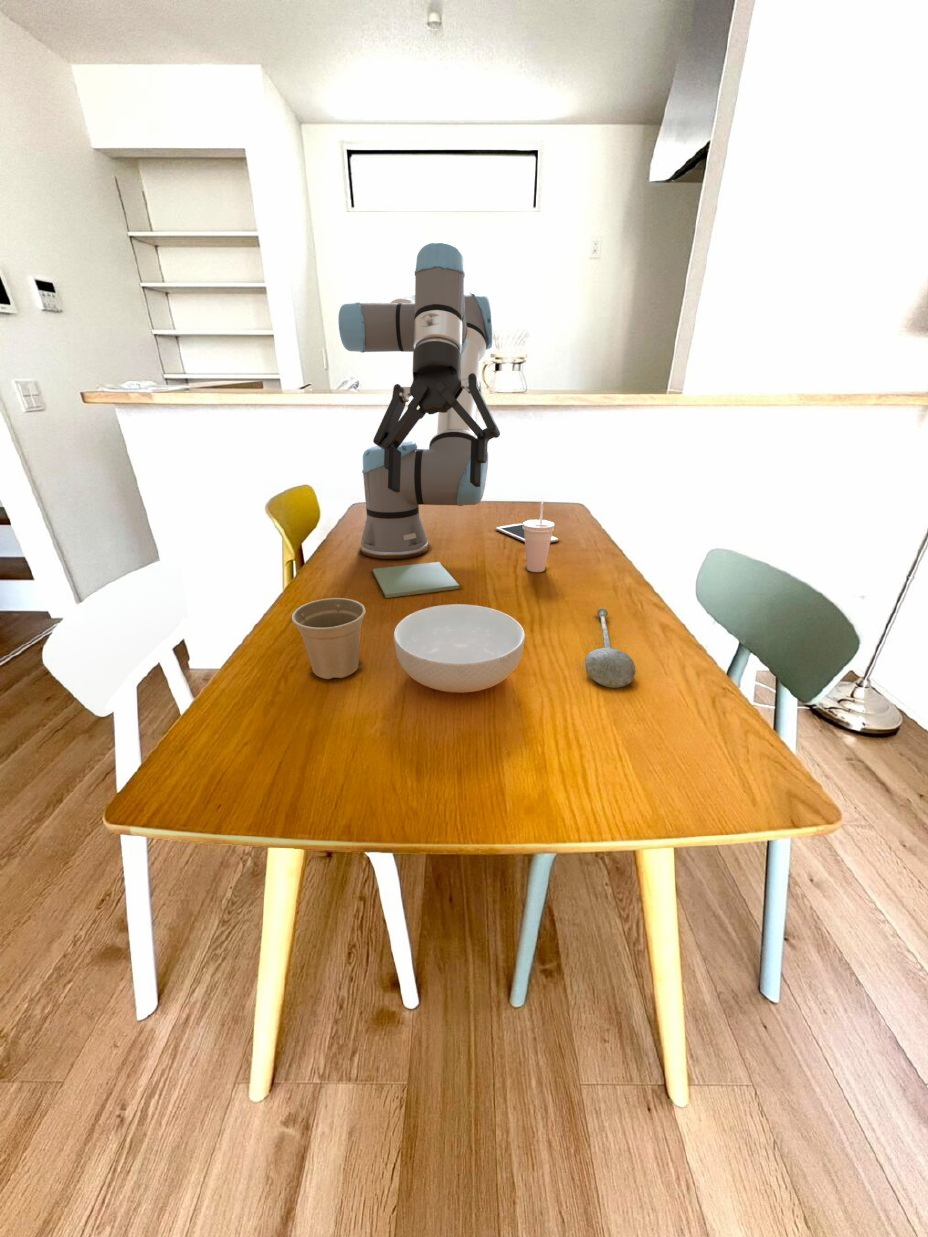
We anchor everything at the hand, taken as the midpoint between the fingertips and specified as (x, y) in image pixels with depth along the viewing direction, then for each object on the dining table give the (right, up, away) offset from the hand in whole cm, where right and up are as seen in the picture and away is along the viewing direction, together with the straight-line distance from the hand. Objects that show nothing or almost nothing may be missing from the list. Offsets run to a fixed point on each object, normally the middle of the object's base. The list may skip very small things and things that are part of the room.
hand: (433, 487), depth 80 cm
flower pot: (-13, -27, -8) cm, 31 cm away
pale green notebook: (-5, -13, +22) cm, 26 cm away
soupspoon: (+26, -25, -3) cm, 36 cm away
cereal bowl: (+4, -28, -10) cm, 30 cm away
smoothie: (+20, -10, +28) cm, 36 cm away
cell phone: (+20, 0, +50) cm, 53 cm away
